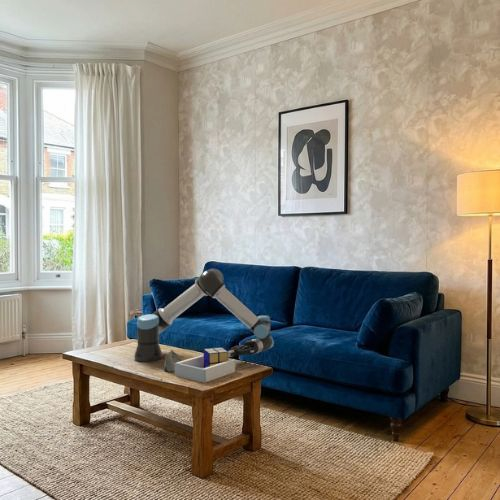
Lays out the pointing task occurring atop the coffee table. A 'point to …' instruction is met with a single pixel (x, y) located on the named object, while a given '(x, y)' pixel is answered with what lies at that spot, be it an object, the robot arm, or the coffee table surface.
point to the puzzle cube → (214, 356)
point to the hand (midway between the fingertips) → (224, 355)
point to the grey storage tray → (195, 371)
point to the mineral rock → (170, 361)
